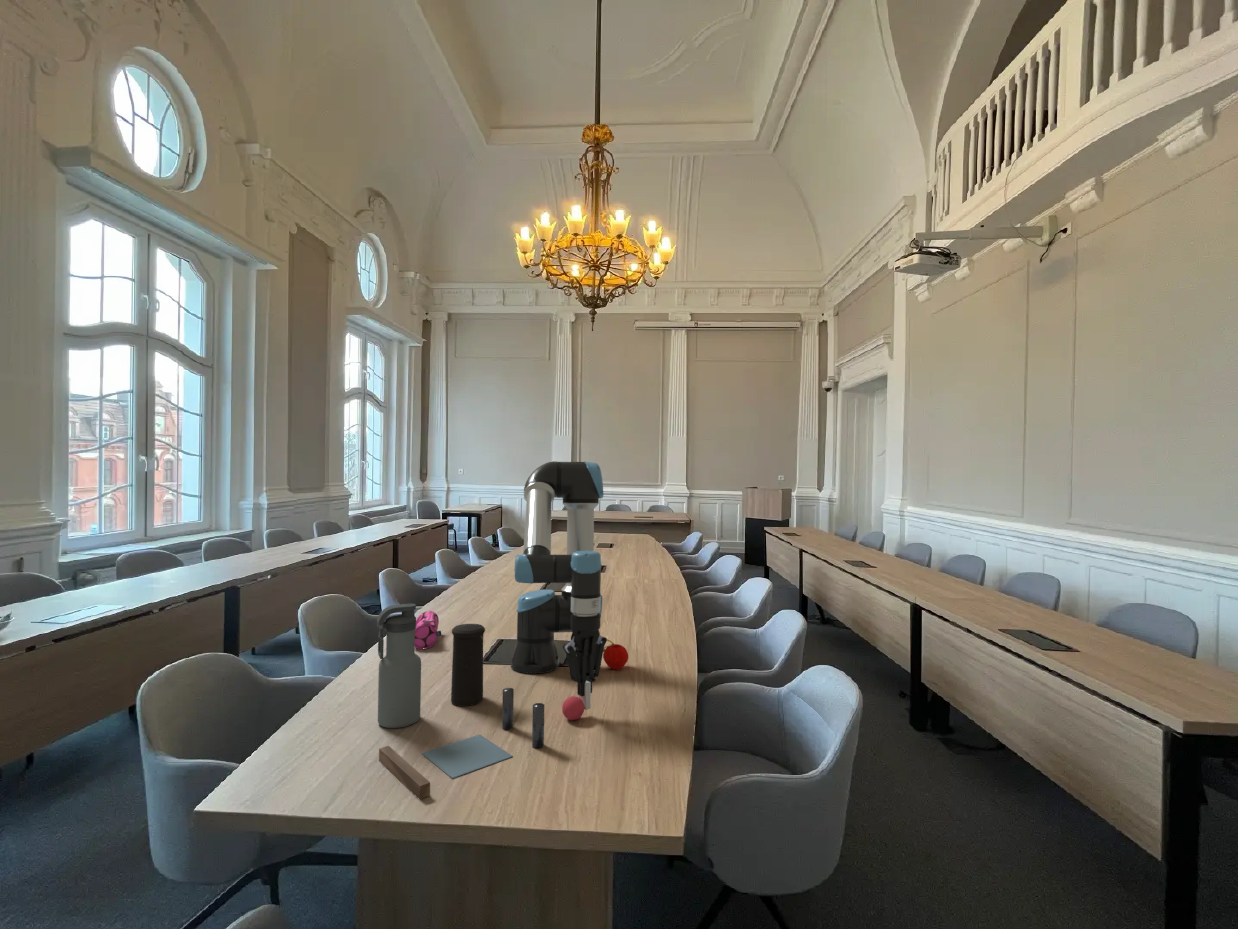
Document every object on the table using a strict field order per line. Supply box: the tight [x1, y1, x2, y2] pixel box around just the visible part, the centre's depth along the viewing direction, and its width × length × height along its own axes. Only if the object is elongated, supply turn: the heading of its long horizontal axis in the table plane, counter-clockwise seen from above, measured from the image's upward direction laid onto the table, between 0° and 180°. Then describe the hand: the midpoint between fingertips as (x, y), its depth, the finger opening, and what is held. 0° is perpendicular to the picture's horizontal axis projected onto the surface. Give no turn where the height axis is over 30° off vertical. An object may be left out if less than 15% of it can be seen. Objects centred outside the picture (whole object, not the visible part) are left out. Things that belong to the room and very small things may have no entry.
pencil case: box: [415, 610, 442, 650], centre depth 213 cm, size 21×10×10 cm, turn 18°
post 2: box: [531, 702, 545, 750], centre depth 132 cm, size 3×3×9 cm
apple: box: [602, 643, 629, 671], centre depth 186 cm, size 8×8×7 cm
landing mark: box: [421, 734, 514, 780], centre depth 127 cm, size 14×14×1 cm
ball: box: [561, 695, 585, 721], centre depth 147 cm, size 6×6×6 cm
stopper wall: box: [378, 745, 431, 800], centre depth 118 cm, size 2×20×2 cm, turn 43°
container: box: [450, 623, 486, 707], centre depth 158 cm, size 9×9×20 cm
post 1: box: [501, 687, 515, 731], centre depth 142 cm, size 3×3×9 cm
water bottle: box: [376, 603, 422, 729], centre depth 145 cm, size 10×10×28 cm
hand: (584, 707), depth 149 cm, fingers closed
